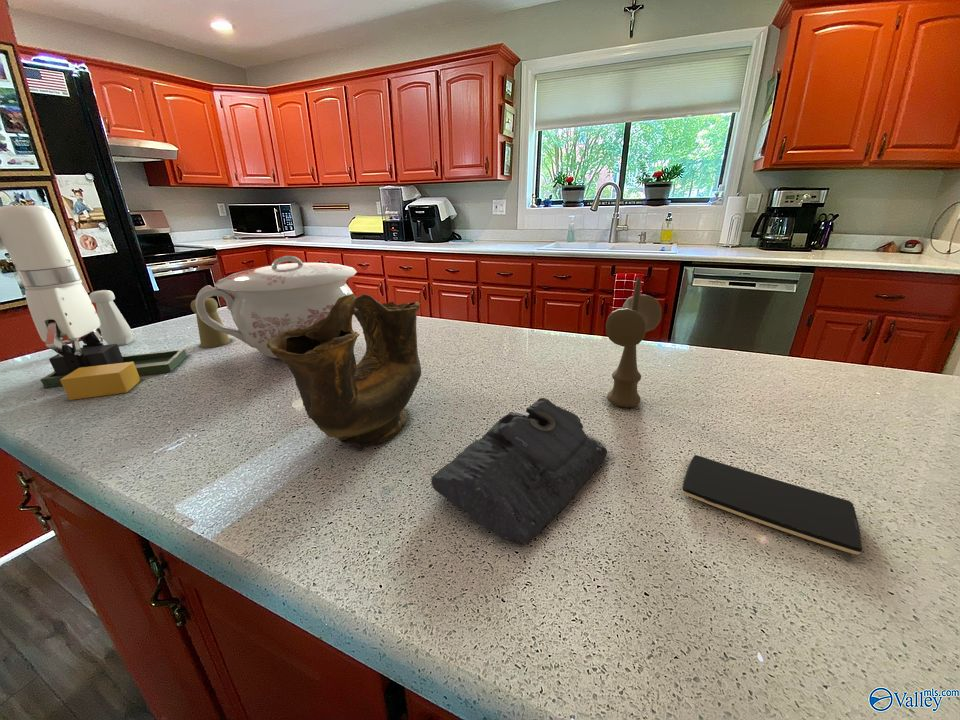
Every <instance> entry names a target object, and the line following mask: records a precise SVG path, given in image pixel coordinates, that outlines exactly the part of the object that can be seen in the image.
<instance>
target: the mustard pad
mask: <svg viewBox="0 0 960 720" xmlns="http://www.w3.org/2000/svg"><path fill="white" fill-rule="evenodd" d="M141 380H142V379H141V376H139V374H138V372H137V369H136V367H135V364H134V362H124V363H116V364H107V365H99V366H90V367H81V368H78V369H76V370H75V371H73V372H71V373H70V374H68V375H67V376H65V377H63V378H62V379H60V381H61V383H62V385H61V386H62V387H63V390H64V392H65V394H66V396H67V398H68V400H69V401H72V400H73V401H74V400H81V399H88V398H89V399H90V398H95V397H103V396H111V395H118V394H126V393H128V392H129V391H131V390H132V389H133V388H134V387H135V386H136V385H137V384H139V383H140V382H141Z"/></svg>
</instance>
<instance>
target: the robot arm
mask: <svg viewBox="0 0 960 720" xmlns="http://www.w3.org/2000/svg"><path fill="white" fill-rule="evenodd" d="M3 250H5V251H6V252H7V253H8V255H9V258H10V260H11V262H12V264H13V266H14V268H15V270H16V272H17V274H18V276H19V279H20V281H21V283H22V285H23V287H24V289H25V290H24V294H25V299H26V303H27V307H28V310H29V312H30V316H31V319H32V322H33V323H34V326H35V328H36V331H37V333H38V335H39V337H40V339H41V341H42V342H43V343H45V347H46V348H48V349H51V350H52V351H54V352H55V353H57V354H59V356H60V357H63V359H64V361H65V363H66V365H67V367H68V369H69V371H70V373H71V372H73V371H75V370H76V369H78V368H81V367H90V364H89V362H88V360H87V357H86V355H85V353H84V354H81V349H80V348H81V345H80V340H81V342H82V343H83V345H82V348H83V347H92V346H101V345H104V343H103V342H104V340H103V338H102V335H101V329H100V328H101V321H100V320H99V318H98V313H97V309H96V308H95V306H94V304H93V302H92V301H91V299H90V295H89V294H88V292H87V291H86V289H85V287H84V285H83V284H82V283H83V281H82V278H81V276H80V273H79V272H78V269H77V266H76V264H75V261H74V259H73V256H72V254H71V252H70V249H69V247H68V245H67V242H66V240H65V237H64V234H63V232H62V230H61V228H60V226H59V223H58V221H57V218H56V216H55V214H54V213H53V211H51V209H49V208H48V207H47V206H43V205H36V204H35V205H34V204H33V205H31V204H30V205H27V204H26V205H23V204H22V205H2V206H1V205H0V251H3ZM65 337H67V339H64V338H65ZM79 339H80V340H79ZM70 343H71V346H70V345H68V344H70Z"/></svg>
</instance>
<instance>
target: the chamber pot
mask: <svg viewBox="0 0 960 720" xmlns="http://www.w3.org/2000/svg"><path fill="white" fill-rule="evenodd" d="M284 262H288V263H284ZM289 262H290V263H289ZM357 273H358V272H357V270H356V269H355V268H354V267H352V266H347V265H343V264H339V263H328V262H303V261H302V259H300V258H298V257H297V256H293V255H283V256H280V257H278V258H275V259H274V260H273V262H272V263H271V265H265V266H260V267H255V268H251V269H245V270H242V271H238V272H234V273H232V274H230V275H227V276H225V277H223V278H220V279H218V280H217V281H216V282H215V284H214V287H213V286H212V285H205V286H204V287H202V288H201V289H200V290H199V291H198V293H197V294H196V297H195V300H196V301H195V306H196V311H197V314H198V315H199V317H200V319H201V320H202V321H203V322H205V323H206V324H208V325H209V326H210V327H212V328H213V329H215V330H217V331H220V332H223V333H226V334H227V335H228V336H232V337H234V338H236V339H238V340H240V341H241V342H243V343H244V344H247V346H249V347H251V348H252V349H253V348H254V349H256V350H257V351H258V352H260V354H262V355H263V356H266V357H269V358H272V359H279V358H278V357H276V356H275V355H274V354H273V353H272V352H271V350H270V348H268V347H267V343H268V341H267V340H268V339H269V338H273V337H275V338H277V337H276V336H278V334H280V333H282V332H285V331H289V330H295V329H298V328H307V327H309V326H311V325H313V324H315V323H317V322H318V321H320V320H321V319H323V318H326V317H327V316H328V315H329V313H330V310H331V308H332V307H333V306H334V305H335V303H336V301H337V300H338V299H339V298H340V297H343V296H347V295H350V294H354V293H353V291H352V289H351V288H350V287H349V286H348V284H347V280H348V279H350V278H353V277H354V276H355V275H356V274H357ZM213 297H219V298H223V299H224V301H225V304H226V308H227V310H229V311H230V313H231V317H232V320H233V323H234V324H235V326H236V328H234V327H229V326H226V325H224V324H223V325H221V324H220V323H218V322H217V321H215V320H213V319H212V318H211V317H210V316H209V314H208V313H207V311H206V308H205V299H206V298H213ZM354 320H355V315H354V316H352V324H353V323H354Z"/></svg>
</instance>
